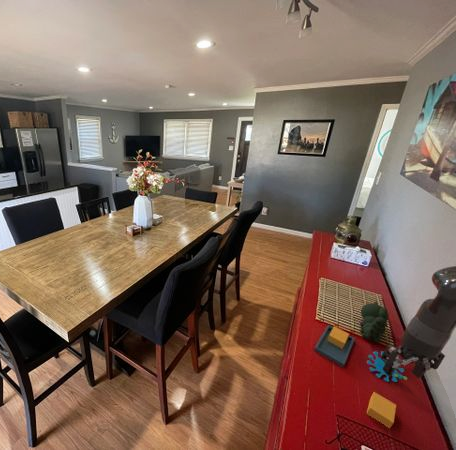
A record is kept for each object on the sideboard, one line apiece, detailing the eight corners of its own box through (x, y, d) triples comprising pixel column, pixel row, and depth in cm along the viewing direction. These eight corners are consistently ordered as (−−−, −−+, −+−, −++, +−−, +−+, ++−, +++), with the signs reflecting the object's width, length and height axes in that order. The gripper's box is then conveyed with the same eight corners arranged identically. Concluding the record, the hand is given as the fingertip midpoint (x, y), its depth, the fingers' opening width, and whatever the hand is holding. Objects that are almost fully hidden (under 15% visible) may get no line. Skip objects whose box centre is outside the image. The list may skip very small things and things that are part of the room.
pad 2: (392, 411, 78) (396, 405, 77) (389, 429, 73) (393, 422, 72) (370, 397, 82) (374, 391, 81) (366, 413, 77) (370, 407, 76)
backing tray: (353, 341, 103) (355, 338, 103) (342, 368, 92) (344, 364, 91) (326, 328, 110) (327, 324, 110) (313, 350, 99) (314, 347, 98)
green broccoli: (381, 356, 99) (382, 318, 116) (401, 323, 91) (399, 288, 107) (353, 343, 105) (358, 309, 121) (369, 311, 96) (372, 280, 113)
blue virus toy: (361, 365, 91) (376, 344, 92) (359, 365, 96) (373, 346, 96) (398, 391, 84) (414, 369, 84) (394, 391, 88) (409, 369, 89)
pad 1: (346, 339, 104) (349, 333, 103) (342, 349, 99) (345, 343, 98) (331, 331, 108) (334, 326, 107) (326, 340, 103) (329, 335, 102)
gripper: (412, 344, 63) (387, 384, 69) (468, 347, 63) (438, 388, 69) (388, 322, 70) (367, 361, 76) (438, 325, 69) (413, 364, 76)
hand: (401, 374), depth 73 cm, fingers open, 8 cm apart
